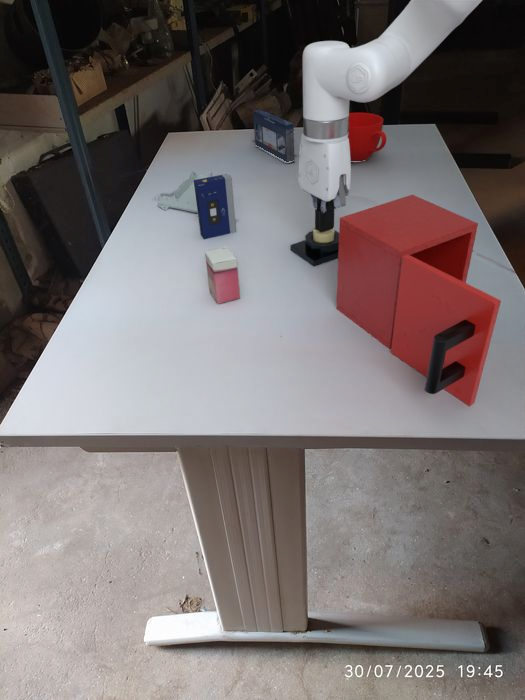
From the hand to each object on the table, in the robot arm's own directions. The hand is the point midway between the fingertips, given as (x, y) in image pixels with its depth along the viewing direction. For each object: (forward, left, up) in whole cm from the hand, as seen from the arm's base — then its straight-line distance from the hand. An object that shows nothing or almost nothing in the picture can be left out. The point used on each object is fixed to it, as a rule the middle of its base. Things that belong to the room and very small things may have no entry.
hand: (324, 228), depth 101 cm
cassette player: (+13, -19, -5) cm, 24 cm away
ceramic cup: (-37, -35, -5) cm, 51 cm away
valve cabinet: (+3, +24, -5) cm, 24 cm away
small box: (+23, +3, -5) cm, 24 cm away
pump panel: (0, 0, -5) cm, 5 cm away
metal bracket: (+9, -37, -5) cm, 39 cm away
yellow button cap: (0, 0, -2) cm, 2 cm away
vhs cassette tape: (-22, -54, -5) cm, 59 cm away
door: (+13, +38, -5) cm, 41 cm away
